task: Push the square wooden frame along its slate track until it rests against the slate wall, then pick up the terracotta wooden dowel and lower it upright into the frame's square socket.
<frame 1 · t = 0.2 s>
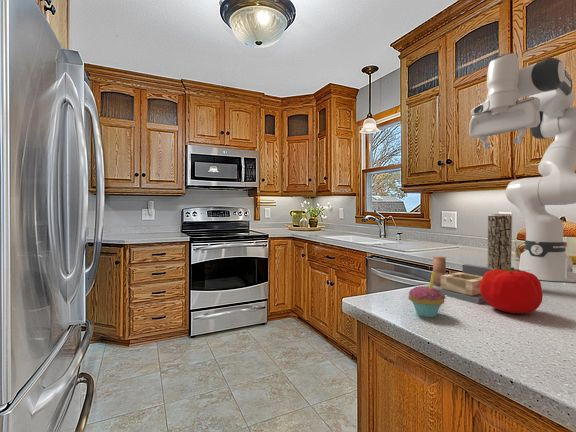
hand: (501, 146, 103), 48 cm above the countertop, fingers open, 8 cm apart
dowel: (439, 285, 108), on the countertop
wooden log: (498, 286, 107), on the countertop
square wooden frame: (465, 283, 96), point 4 cm above the countertop, slide at 0.0 cm
tomato: (509, 311, 81), on the countertop
slate track: (471, 293, 98), on the countertop
cupcake: (425, 315, 79), on the countertop
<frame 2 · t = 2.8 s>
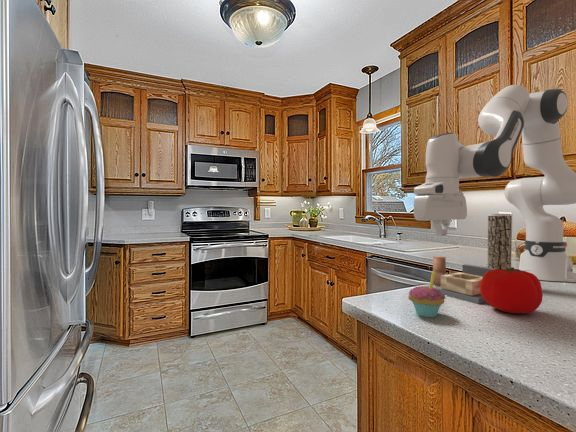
hand: (441, 235, 91), 19 cm above the countertop, fingers closed
nothing on the countertop moved.
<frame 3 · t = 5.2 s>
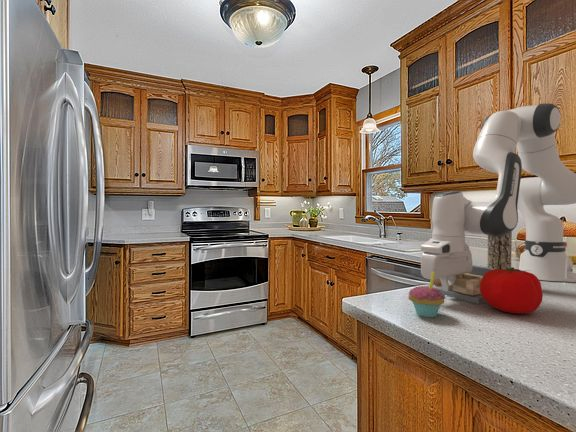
hand: (447, 290, 93), 2 cm above the countertop, fingers closed
square wooden frame: (466, 283, 96), point 4 cm above the countertop, slide at 0.4 cm, touching gripper
everything else where it was.
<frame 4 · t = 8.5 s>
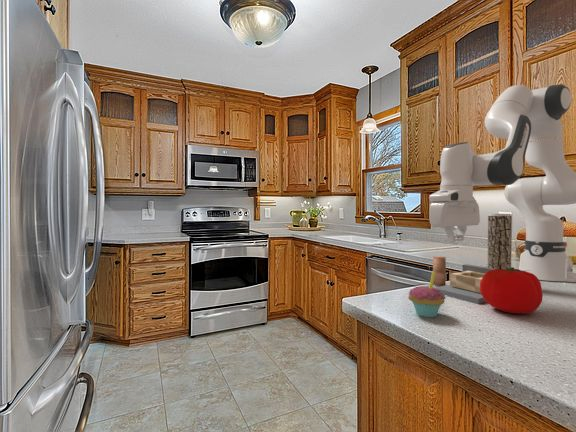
hand: (455, 241, 95), 17 cm above the countertop, fingers open, 3 cm apart
square wooden frame: (474, 281, 98), point 4 cm above the countertop, slide at 5.0 cm, touching slate track
everything else where it was.
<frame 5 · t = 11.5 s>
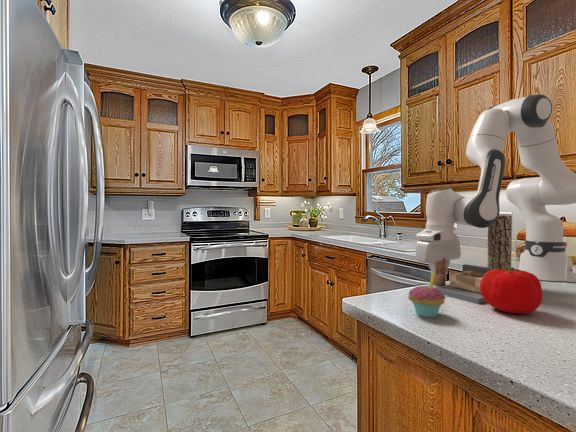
hand: (439, 273, 108), 4 cm above the countertop, fingers closed on dowel, 4 cm apart
dowel: (439, 285, 108), on the countertop, touching gripper
everything else where it was.
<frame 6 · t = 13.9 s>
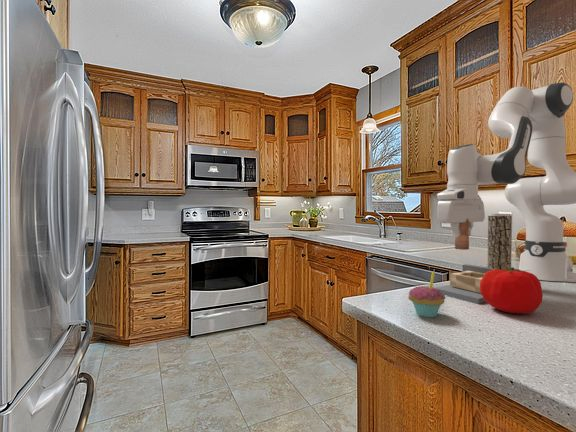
hand: (462, 236, 102), 18 cm above the countertop, fingers closed on dowel, 4 cm apart
dowel: (461, 248, 102), point 14 cm above the countertop, touching gripper
everything else where it was.
when the fingers open (7 cm above the countertop, at t = 16.6 s): dowel drops 1 cm, resting on slate track.
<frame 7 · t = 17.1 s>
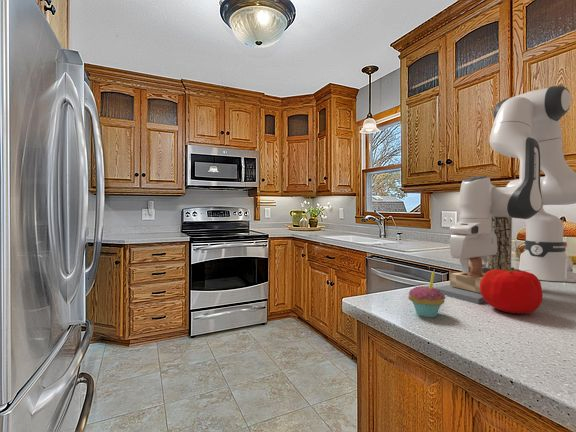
hand: (474, 270, 98), 7 cm above the countertop, fingers open, 7 cm apart
dowel: (474, 288, 98), point 2 cm above the countertop, touching slate track
everything else where it was.
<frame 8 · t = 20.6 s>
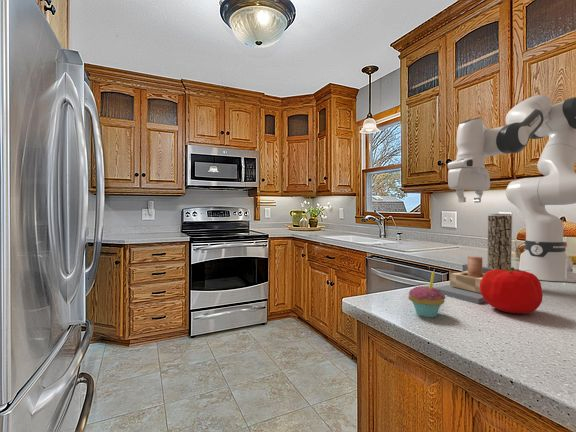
hand: (469, 202, 111), 29 cm above the countertop, fingers open, 8 cm apart
nothing on the countertop moved.
at the end: square wooden frame slide at 5.0 cm; dowel 0.1 cm from the target spot, point 1.5 cm above the countertop; dowel tilted 0° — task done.
